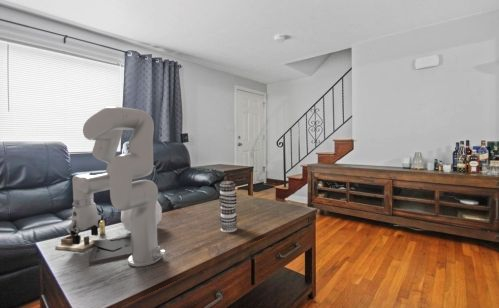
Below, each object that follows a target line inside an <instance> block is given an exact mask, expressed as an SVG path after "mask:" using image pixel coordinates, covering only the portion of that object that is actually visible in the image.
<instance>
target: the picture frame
mask: <svg viewBox="0 0 499 308" xmlns="http://www.w3.org/2000/svg"><path fill="white" fill-rule="evenodd" d="M131 255H132V246H131V235H127V236H121V237H115V238H109V239H107V238H105V239H101V240H98V241H94V245H93V247H92V251H91V254H90V257H89V260H88V261H89V262H88V264H89V265H88V266H92V265H99V264H103V263H108V262H112V261H116V260H121V259H128V258H129V257H130V256H131Z"/></svg>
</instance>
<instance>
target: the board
mask: <svg viewBox="0 0 499 308" xmlns="http://www.w3.org/2000/svg"><path fill="white" fill-rule="evenodd" d="M79 236H80V244H73V241H72V235H70V234H69V235H68V236H65V237H63V238H61V239H60V242H61V243H60V244H57V245H55V247H54V248H55V250H61V251H62V250H64V251H74V252H82V253H83V252H86V251H87V250H89V249H91V248H93V245H94V241H98V240H102V239H101V238H90V236H88V235H87V236H84V237H81V235H79Z"/></svg>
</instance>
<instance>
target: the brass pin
mask: <svg viewBox="0 0 499 308" xmlns="http://www.w3.org/2000/svg"><path fill="white" fill-rule="evenodd" d="M105 224H106V223H105V220H104V219H102V220H101V219H100V223H99V226H98V230H99V236H106V225H105Z"/></svg>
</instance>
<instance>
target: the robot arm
mask: <svg viewBox="0 0 499 308" xmlns="http://www.w3.org/2000/svg"><path fill="white" fill-rule="evenodd" d="M154 125H155V123H154V119H153V118H152V116H151V115H150V114H149V113H148V112H146V111H145V110H142V109H139V108H138V109H137V108H131V107H123V106H113V105H112V106H106V107H104V108H102V109H100V110H99V111H97V112H96V113H95V114H93V115H91V116H90V117H89V118H88V119H87V120H86V121H85V122H84V124H83V126H82V134H83V136H84V138H85V139H86V140H88V141H94V145H93V148H92V152H91V154H92V156H93V157H94V158H96V160H99V161H101V162H105V163H106V164H107V165H106V170H105V173H100V174H99V173H98V174H95V175H92V174H88V173H87V174H86V173H85V174H84V173H83V174H76V175H73V177H72V179H71V180H72V199H73V202H72V211H71V222H70V224H69V225H67V227H65V230H66V231H67V233H68V234H69V236H70V235H72V241H73V244H80V236H81V235H80V234H79V233H80V232H81V231H84V230H86V229H89V228H90V231H91V232H90V233H91V236H94V237H97V236H98V235H99V223H100V221H101V219H102V215H101V214H99V213H98V207H97V204H96V202H95V201H94V199H95V197H94V194H96V193H99V192H104V191H108V190H109V197H110V202H111V205H112V207H113V208H114V209H115V210H117V211H119V212H121V211H126V210H129V209H132V211H131V215H130V226H131V231H130V236H131V246H132V255H131V256H130V257H127V264H128V265H129V266H132V267H138V268H139V267H146V266H149V265H153V264H156V263H157V262H158V261H160V260H161V259H165V258H166V255H167V253H166V252H167V251H166V250H165V249H161V245H158V226H157V225H158V224H157V221H156V204H157V201H158V196H159V188H158V185H157V184H156V183H155V181H152V180H150V179H141V180H140V178H144V177H147V176H149V175H151V174H152V172H153V171H154V142H153V141H154V133H155V126H154ZM124 131H133V132H132V134H131V135H130V138H129V140H128V153H121V154H118V155H116V154H117V151H118V148H119V145H120V141H121V140H122V135H123V132H124ZM133 179H134V181H133ZM135 179H139V180H136V181H135Z"/></svg>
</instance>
